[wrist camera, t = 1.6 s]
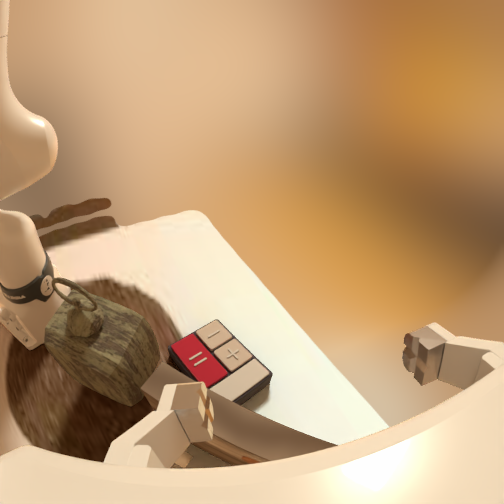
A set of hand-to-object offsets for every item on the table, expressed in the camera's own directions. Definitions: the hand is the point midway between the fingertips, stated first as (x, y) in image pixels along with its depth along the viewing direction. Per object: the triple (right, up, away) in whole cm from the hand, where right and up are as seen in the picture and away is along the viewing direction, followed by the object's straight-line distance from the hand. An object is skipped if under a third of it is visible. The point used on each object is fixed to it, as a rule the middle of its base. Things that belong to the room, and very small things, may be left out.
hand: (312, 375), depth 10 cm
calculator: (-8, -16, +36) cm, 40 cm away
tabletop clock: (-25, -18, +30) cm, 43 cm away
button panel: (-6, -25, +24) cm, 36 cm away
